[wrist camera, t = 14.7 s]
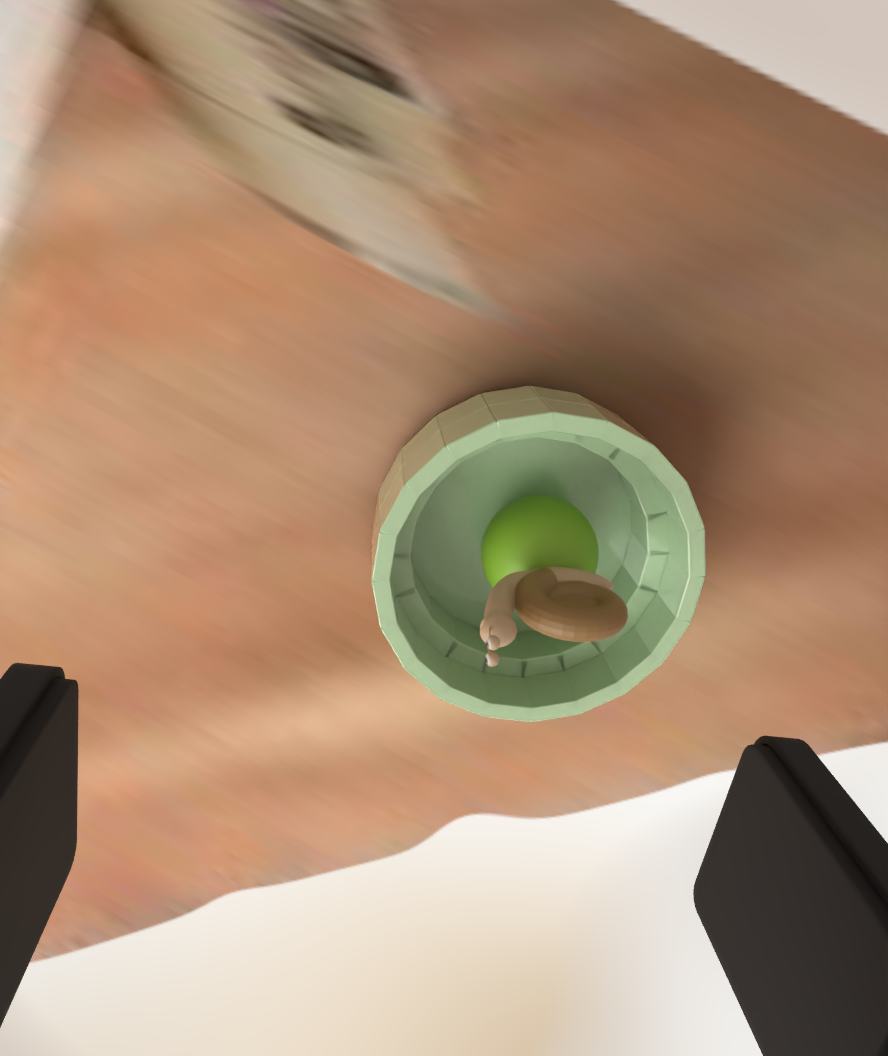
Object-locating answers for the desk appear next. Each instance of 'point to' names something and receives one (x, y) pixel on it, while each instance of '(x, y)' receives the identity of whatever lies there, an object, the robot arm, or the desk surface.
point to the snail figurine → (545, 576)
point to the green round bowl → (463, 516)
